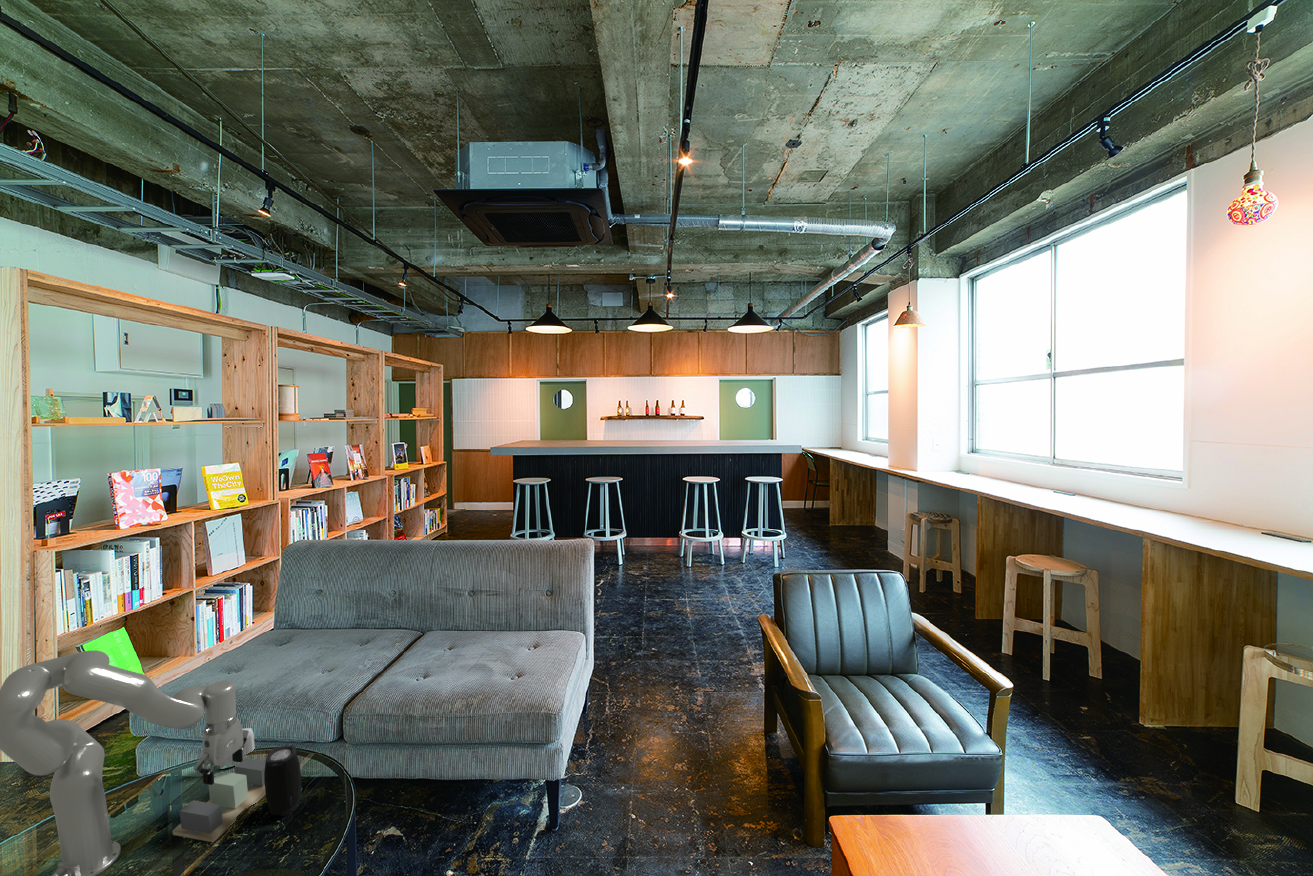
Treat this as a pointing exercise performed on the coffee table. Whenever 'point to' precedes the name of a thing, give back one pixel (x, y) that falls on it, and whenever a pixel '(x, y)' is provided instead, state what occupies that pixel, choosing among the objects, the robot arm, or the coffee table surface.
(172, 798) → the coffee table surface
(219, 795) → the block
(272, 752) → the portable speaker
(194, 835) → the rail board
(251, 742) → the photo printer
